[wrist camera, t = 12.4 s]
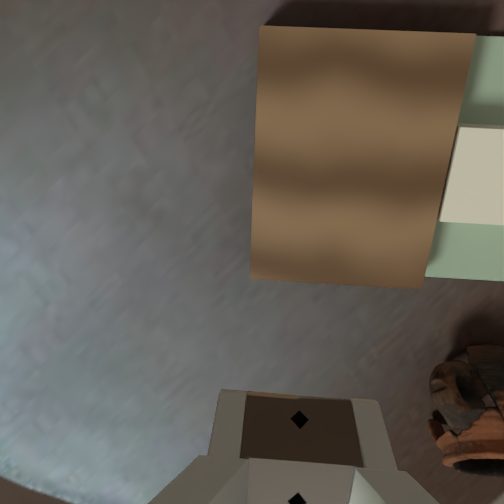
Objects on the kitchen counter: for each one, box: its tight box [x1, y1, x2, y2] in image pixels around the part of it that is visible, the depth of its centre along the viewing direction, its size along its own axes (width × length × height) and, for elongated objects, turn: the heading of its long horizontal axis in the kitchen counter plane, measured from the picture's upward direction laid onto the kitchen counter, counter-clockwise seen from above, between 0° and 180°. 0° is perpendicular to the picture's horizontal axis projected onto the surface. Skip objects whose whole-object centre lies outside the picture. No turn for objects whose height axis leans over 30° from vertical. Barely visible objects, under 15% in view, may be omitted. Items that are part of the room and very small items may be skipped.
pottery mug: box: [428, 344, 504, 478], centre depth 35 cm, size 12×10×8 cm
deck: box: [250, 25, 476, 289], centre depth 30 cm, size 16×12×2 cm
